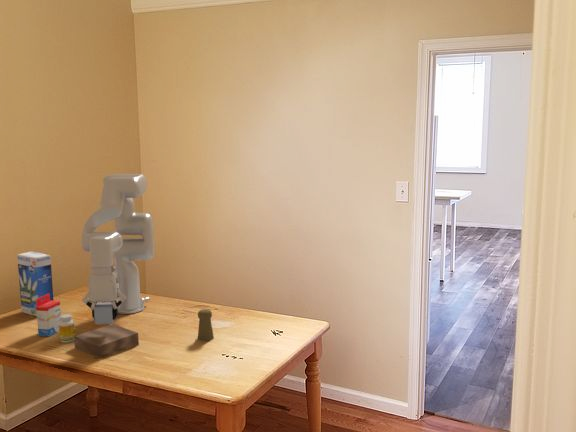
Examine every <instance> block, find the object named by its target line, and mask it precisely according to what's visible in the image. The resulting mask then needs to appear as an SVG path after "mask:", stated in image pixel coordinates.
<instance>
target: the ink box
mask: <svg viewBox="0 0 576 432" xmlns="http://www.w3.org/2000/svg"><path fill="white" fill-rule="evenodd" d="M49 296H50V294H49V293H48V294H46V295H44V296H42V297H40V298H38V299H36V310H37V316H36V320H37V321H36V322H37V333H38V336H39V337H51V336H53V335H54V334H56V333H57V332H59V322H60V321H61V320H60V316H61V315H62V314H61V313H62V311H61V301H60V300H53V301H52V300H50V298H49ZM43 298H45V300H43V301H41V300H42V299H43Z"/></svg>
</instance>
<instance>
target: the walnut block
mask: <svg viewBox="0 0 576 432" xmlns="http://www.w3.org/2000/svg"><path fill="white" fill-rule="evenodd" d="M136 346H140V341H139V332H137V331H134V330H132V329H129V328H125V327H122V326H120V325H117V324H114V323H112V324H106V325H105V326H104V325H103V326H102V327H99V328H95V329H92V330H89V331H85V332H82V333H79V334H77V335H76V334H75V336H74V348H75V349H76V348H77V349H76V350H78V351H81V352H83V351H84V353H86V354H88V355H91V356H93V357H95V358H97V359H99V360H101V359H103V358H106V357H107V358H108V357H110V356H112V355H114V354H115V355H116V354H118V353H121V352H123V351H126V350H129V349H132V348H134V347H136Z"/></svg>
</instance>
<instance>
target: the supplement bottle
mask: <svg viewBox="0 0 576 432" xmlns="http://www.w3.org/2000/svg"><path fill="white" fill-rule="evenodd" d="M60 320H61V321H60V322H59V331H58V332H59V341H60V342H61V343H63V344H64V343H71V342H75V340H74V336H76V334H75V321H74V320H73V315H72V313H71V314H70V313H67V314H65V313H64V314H61V316H60Z"/></svg>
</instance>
